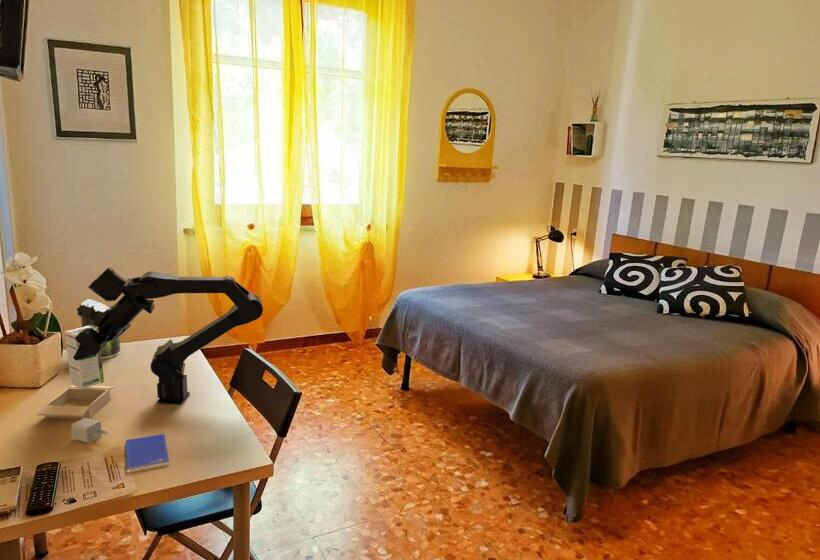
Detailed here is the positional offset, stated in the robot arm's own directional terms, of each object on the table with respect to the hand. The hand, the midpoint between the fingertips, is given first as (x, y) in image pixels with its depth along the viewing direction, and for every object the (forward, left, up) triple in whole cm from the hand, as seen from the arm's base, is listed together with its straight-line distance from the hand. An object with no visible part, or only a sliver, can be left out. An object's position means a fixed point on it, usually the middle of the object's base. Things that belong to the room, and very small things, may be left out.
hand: (82, 353), depth 143 cm
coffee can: (+12, -33, -13) cm, 37 cm away
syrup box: (-1, 0, -8) cm, 8 cm away
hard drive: (-25, +25, -14) cm, 38 cm away
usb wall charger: (-11, +19, -13) cm, 26 cm away
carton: (0, +4, -13) cm, 14 cm away
